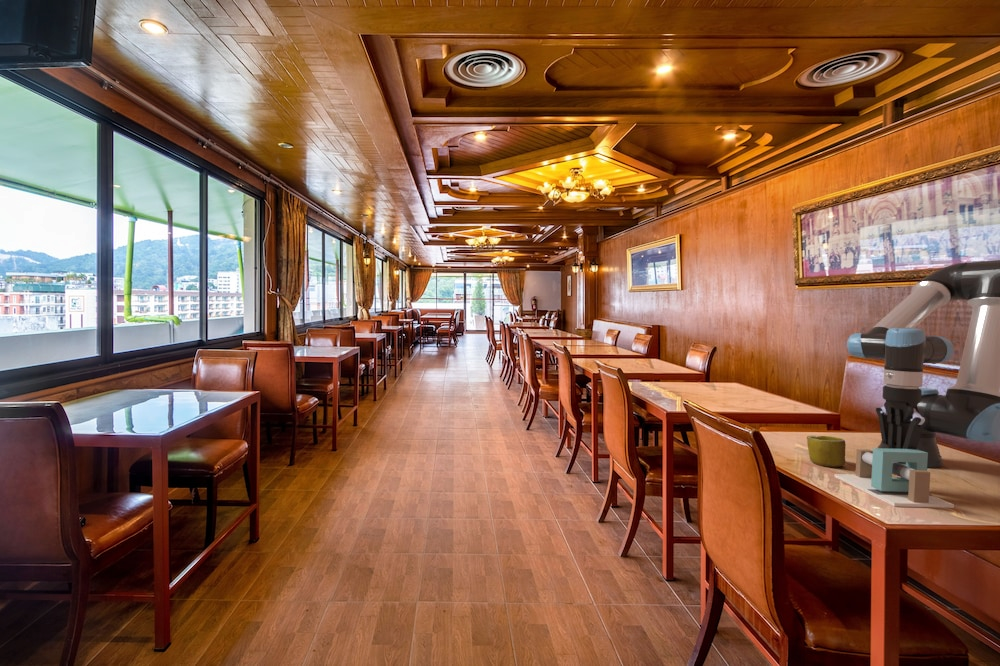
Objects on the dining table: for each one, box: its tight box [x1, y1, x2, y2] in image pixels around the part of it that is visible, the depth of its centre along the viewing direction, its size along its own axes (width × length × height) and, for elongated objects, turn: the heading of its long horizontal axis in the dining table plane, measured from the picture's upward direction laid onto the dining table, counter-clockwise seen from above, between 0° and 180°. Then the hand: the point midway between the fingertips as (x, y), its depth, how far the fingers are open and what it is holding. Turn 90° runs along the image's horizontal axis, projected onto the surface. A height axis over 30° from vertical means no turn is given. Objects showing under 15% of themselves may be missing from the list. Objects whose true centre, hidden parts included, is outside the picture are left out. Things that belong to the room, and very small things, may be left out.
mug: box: [806, 434, 846, 468], centre depth 134 cm, size 12×10×10 cm
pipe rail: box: [833, 449, 955, 509], centre depth 112 cm, size 19×14×8 cm
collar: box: [871, 447, 928, 492], centre depth 109 cm, size 3×11×10 cm, turn 89°
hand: (897, 474), depth 115 cm, fingers closed
